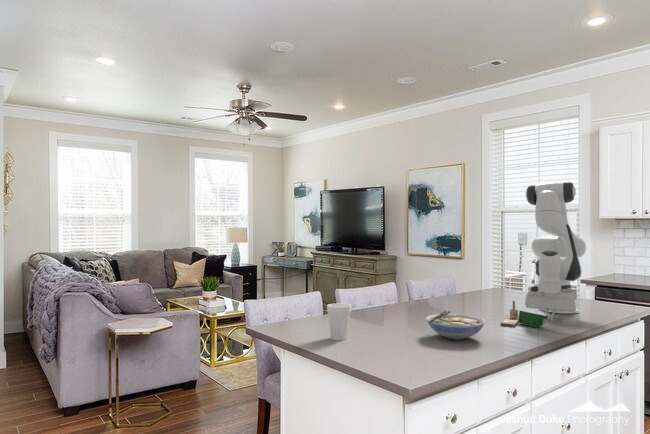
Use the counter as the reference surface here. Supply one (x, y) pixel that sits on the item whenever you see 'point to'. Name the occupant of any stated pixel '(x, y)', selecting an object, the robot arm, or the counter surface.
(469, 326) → the ramen bowl
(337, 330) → the foam cup
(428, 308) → the counter surface
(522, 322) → the clamp
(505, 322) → the bandage strip
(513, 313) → the awl
